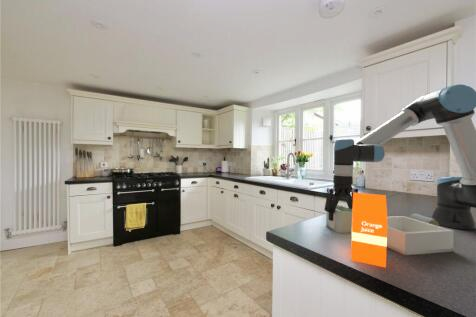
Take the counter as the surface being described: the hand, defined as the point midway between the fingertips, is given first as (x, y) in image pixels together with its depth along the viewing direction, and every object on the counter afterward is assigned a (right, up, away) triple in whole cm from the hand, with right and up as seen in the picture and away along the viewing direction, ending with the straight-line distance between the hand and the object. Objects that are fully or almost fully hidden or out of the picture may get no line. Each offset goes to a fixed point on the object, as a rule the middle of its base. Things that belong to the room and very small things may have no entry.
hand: (341, 227), depth 93 cm
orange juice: (-5, -1, -26) cm, 27 cm away
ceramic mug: (+34, -2, -2) cm, 34 cm away
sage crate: (0, -1, 0) cm, 1 cm away
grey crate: (+17, -1, -13) cm, 21 cm away
